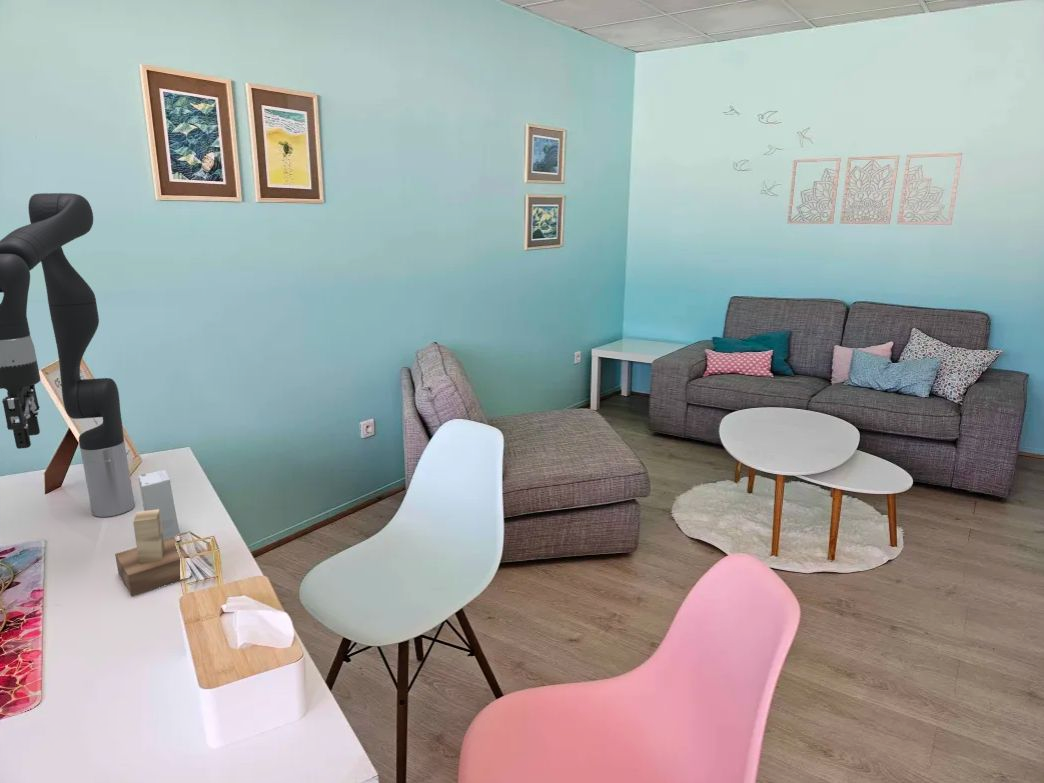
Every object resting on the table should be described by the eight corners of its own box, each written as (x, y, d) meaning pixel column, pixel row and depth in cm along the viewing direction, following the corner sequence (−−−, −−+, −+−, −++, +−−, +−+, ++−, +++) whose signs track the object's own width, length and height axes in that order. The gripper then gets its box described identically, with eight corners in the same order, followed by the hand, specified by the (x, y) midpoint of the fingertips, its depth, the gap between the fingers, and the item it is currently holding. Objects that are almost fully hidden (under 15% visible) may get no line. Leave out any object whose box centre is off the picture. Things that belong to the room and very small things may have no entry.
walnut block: (118, 576, 141) (115, 553, 139) (176, 558, 148) (173, 537, 146) (132, 598, 133) (128, 575, 131) (192, 578, 140) (189, 556, 138)
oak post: (142, 552, 140) (136, 511, 137) (164, 549, 141) (159, 509, 139) (139, 563, 135) (133, 521, 133) (161, 560, 137) (156, 518, 134)
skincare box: (181, 541, 154) (172, 479, 150) (151, 548, 151) (141, 485, 147) (176, 527, 161) (167, 468, 157) (147, 534, 158) (137, 473, 154)
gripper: (28, 366, 126) (44, 449, 130) (43, 351, 139) (58, 428, 143) (-23, 370, 123) (-4, 455, 127) (-2, 355, 136) (14, 433, 140)
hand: (29, 440), depth 135 cm, fingers open, 8 cm apart
